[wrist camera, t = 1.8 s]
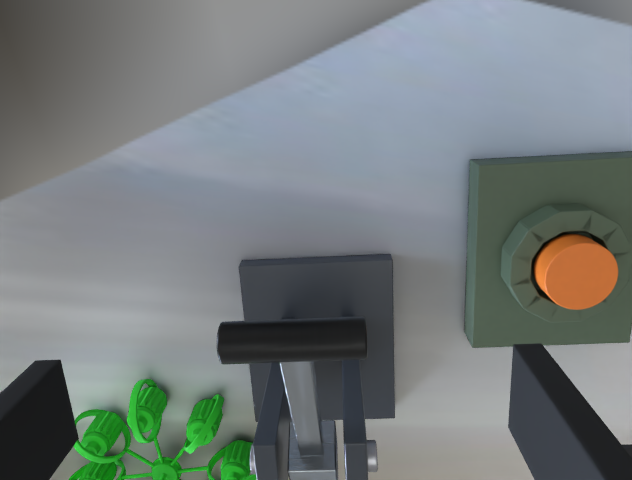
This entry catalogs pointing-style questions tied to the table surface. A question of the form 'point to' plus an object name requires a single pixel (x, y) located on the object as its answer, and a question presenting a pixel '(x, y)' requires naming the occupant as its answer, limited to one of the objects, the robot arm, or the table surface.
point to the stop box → (533, 234)
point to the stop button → (575, 271)
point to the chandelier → (143, 420)
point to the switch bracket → (331, 376)
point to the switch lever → (299, 377)
